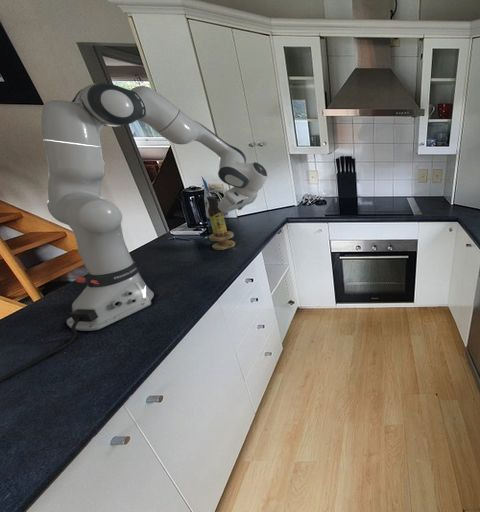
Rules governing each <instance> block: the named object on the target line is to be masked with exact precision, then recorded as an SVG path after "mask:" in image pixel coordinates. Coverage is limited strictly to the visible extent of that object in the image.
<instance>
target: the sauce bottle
mask: <svg viewBox="0 0 480 512" xmlns="http://www.w3.org/2000/svg"><path fill="white" fill-rule="evenodd" d="M207 200H208V203H209V209H208V214H209V218H210V222H211V226H212V230H213V233H214V236H217V237H219V236H224V235H226V234H227V231H228V228H226V227H227V225H226V224H227V223H226V220H225V216H224V215H223V214H222V212H221V211H220V210H219V209H218V205H219V203H218V198H217V195H212V196H207Z"/></svg>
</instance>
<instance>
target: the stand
mask: <svg viewBox="0 0 480 512" xmlns="http://www.w3.org/2000/svg"><path fill="white" fill-rule="evenodd" d="M234 236H235V234H234V232H233V231H230V230H227V234H226V235H224V236H219V237H217V236H214V233H213V234H211V233H210V234H209V236H208V239H209V241H211V242H215V243H213V244H212V246H211V247H212V249H213V250H214V251H215V250H216V251H225V250H229V249H232V248H234V246H236V241H234V240H231V239H232V238H233V237H234Z"/></svg>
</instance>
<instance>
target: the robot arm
mask: <svg viewBox="0 0 480 512" xmlns="http://www.w3.org/2000/svg"><path fill="white" fill-rule="evenodd" d="M136 121H139V122H142V123H143V124H145V125H147V126H148V127H149V128H150V129H152V130H153V131H155V132H156V133H157V134H159V135H160V136H161V137H163V138H164V139H166V140H167V141H169V142H171V143H173V144H176V145H188V144H190V143H192V142H197V143H200V144H202V145H203V146H205V148H206V147H207V148H208V149H209V150H211V151H212V152H213V153H214V154H216V155H217V157H218V159H219V163H218V169H217V176H218V179H219V180H220V181H221V182H223V183H224V184H226V185H229V186H232V187H231V188H230V189H227V190H226V191H225V192H224V196H223V197H222V198H221V200H220V201H219V203H218V209H219V210H220V211H221V212H222V214H223V216H224V217H226V216H228V214H229V212H232V211H234V210H238V211H241V210H243V208H245V207H246V206H248V205H251V204H252V203H254V202H255V201H256V199H257V198H258V192H259V191H260V190H261V189H262V188H263V186H264V184H265V183H266V181H267V179H268V172H267V170H266V168H265V167H264V165H262V164H260V163H259V162H255V161H254V162H251V163H250V162H249V163H247V157H246V155H245V154H244V152H243V150H241V149H239V148H237V147H236V146H233V145H232V144H229V143H227V142H226V141H225V140H223V139H222V138H221V137H220V136H218V135H217V134H216V133H214V132H213V131H212V130H210V129H209V128H207V127H206V126H205V125H203V124H202V123H201V122H200V121H199V122H198V121H196V120H195V119H192V118H191V117H190V116H188V115H187V114H186V113H185V112H183V111H182V109H180V108H178V107H177V106H176V105H175V104H174V103H173V102H171V101H170V100H169V99H167V98H166V97H164V95H162V94H160V93H159V92H157V91H156V90H154V89H153V88H151V87H149V86H146V85H139V86H138V85H137V86H135V87H133V88H131V89H128V88H125V87H122V86H119V85H116V84H114V83H110V82H109V83H108V82H99V83H91V84H88V85H86V86H85V87H83V88H81V89H80V90H79V91H78V92H77V93H76V95H75V96H74V98H73V99H72V100H71V101H69V100H63V99H53V100H49V101H46V102H45V103H44V104H43V105H42V110H41V134H42V140H43V141H42V142H43V146H44V152H45V156H46V163H47V169H48V181H47V182H48V183H47V185H48V186H47V199H48V200H47V202H46V208H47V210H48V212H49V215H51V216H52V217H53V218H54V219H55V220H56V221H58V222H59V223H61V224H63V225H67V226H68V227H70V229H71V231H72V232H73V235H74V239H75V242H76V246H77V249H76V250H77V253H78V255H79V257H80V259H81V260H82V262H83V264H84V266H85V268H86V270H87V276H82V275H79V276H76V278H75V282H76V283H78V284H79V283H80V284H86V286H85V288H83V290H82V291H81V293H80V294H79V295H78V296H77V297H76V299H75V300H73V302H72V304H71V311H72V312H70V313H69V316H70V317H69V318H68V319H67V320H66V324H67V326H68V327H69V328H70V330H71V333H72V336H71V338H70V339H69V340H68V341H67V342H66V343H65V344H62V345H61V346H59V347H57V348H55V349H52V350H50V351H49V352H46V353H44V354H43V355H42V356H40V357H38V358H36V359H34V360H32V361H30V362H28V363H26V364H24V365H23V366H21V367H19V368H17V369H15V370H13V371H11V372H9V373H8V374H6V375H4V376H2V377H0V383H2V382H4V381H5V380H7V379H8V378H10V377H12V376H14V375H16V374H18V373H20V372H22V371H25V370H26V369H28V368H29V367H32V366H34V365H35V364H37V363H39V362H42V361H43V360H44V359H46V358H48V357H50V356H51V355H53V354H55V353H57V352H59V351H61V350H62V349H64V348H65V347H67V346H68V345H70V344H71V343H72V342H74V341H75V340H76V338H77V337H78V331H81V332H91V331H98V330H101V329H103V328H105V327H107V326H109V325H111V324H114V323H116V322H117V321H120V320H122V319H124V318H126V317H128V316H130V315H133V314H135V313H137V312H139V311H141V310H143V309H145V308H147V307H149V306H151V305H152V299H154V295H155V293H154V291H152V290H151V289H150V288H149V287H148V285H147V283H146V282H145V281H144V279H143V277H142V275H141V273H140V270H139V268H138V265H137V263H136V261H134V260H133V258H132V256H131V254H130V252H129V249H128V247H127V245H126V242H125V239H124V233H123V228H122V222H123V214H122V211H121V209H120V208H119V207H118V206H117V204H115V203H113V202H112V201H111V200H109V199H108V198H105V197H103V196H101V187H102V182H103V179H104V177H105V175H106V174H105V173H106V172H105V165H104V164H105V163H104V158H103V157H104V156H103V151H102V143H101V139H100V135H101V130H102V128H103V127H122V126H126V125H130V124H133V123H135V122H136Z"/></svg>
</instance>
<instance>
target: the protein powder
mask: <svg viewBox="0 0 480 512" xmlns="http://www.w3.org/2000/svg"><path fill="white" fill-rule="evenodd" d="M201 179H202V183H203V186H204V190H203V191H204V194H203V202H204V208H205V209H204V210H205V216H206V222H207V228H208V233H209V234H210V235H211V234H213V230H212V226H211V222H210V218H209V214H208V209H209V203H208V200H207V196H213V195H212V194H211V192H210V189H209V187H208V183H207V181H206V180H205V178H204V177H203V176H201ZM226 228H227V226H226ZM227 229H228V228H227Z"/></svg>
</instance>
